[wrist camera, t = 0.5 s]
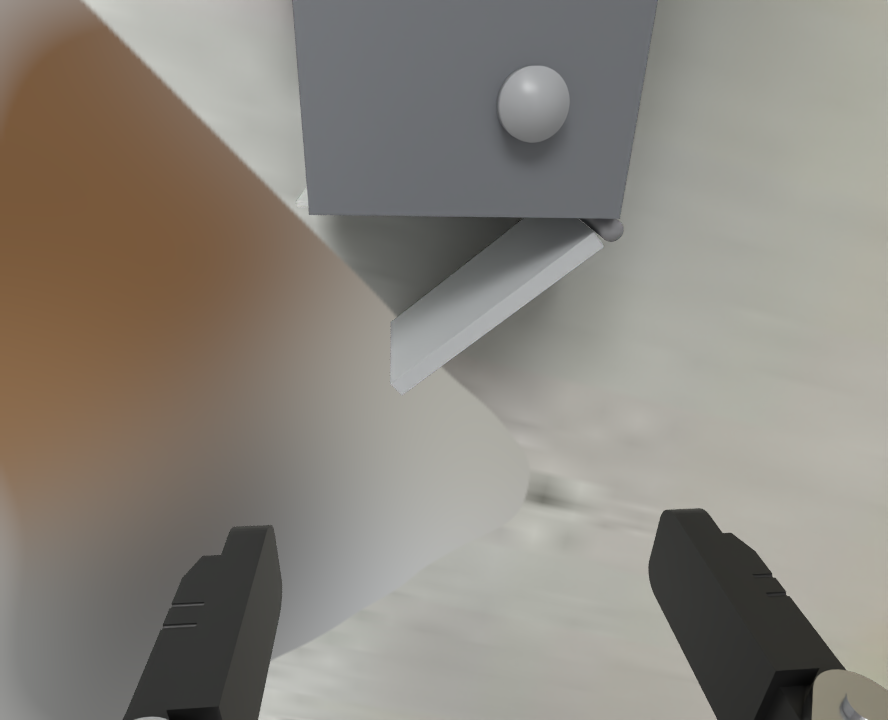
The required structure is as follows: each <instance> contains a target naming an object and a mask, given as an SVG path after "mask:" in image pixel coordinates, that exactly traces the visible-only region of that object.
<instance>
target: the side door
mask: <svg viewBox="0 0 888 720" xmlns="http://www.w3.org/2000/svg"><path fill="white" fill-rule="evenodd" d="M579 219H580V220H581V221H580V220H579ZM579 219H578V218H524V219H522V220H521V221H520V222H519V223H517V224H516V225H515V226H513V227H512V228H511V229H510V230H508V231H507V232H506V233H504V234H503V235H502V236H501V237H499V238H498V239H497V240H495V241H494V242H493V243H492V244H490V245H489V246H488V247H486V248H485V249H484V250H483V251H481V252H480V253H479V254H478V255H476V256H475V257H474V258H472V259H471V260H470V261H469V262H467V263H466V264H465V265H463V266H462V267H461V268H460V269H458V270H457V271H456V272H454V273H453V274H452V275H451V276H449V277H448V278H447V279H445V280H444V281H443V282H442V283H440V284H439V285H438V286H436V287H435V288H434V289H433V290H431V291H430V292H429V293H427V294H426V295H425V296H424V297H422V298H421V299H420V300H419V301H417V302H416V303H415V304H413V305H412V306H411V307H410V308H408V309H407V310H406V311H404V312H403V313H402V314H401V315H399V316H398V317H397V318H395V319H394V320H393V321H392V322H391V370H390V373H391V375H390V381H391V382H390V384H391V385H392V386H393V387H394V388H395V389H396V390H397V391H398V392H399V393H400V394H401V395H403V394H405V393H406V392H407V391H408V390H410V389H411V388H413V387H414V386H415V385H417V384H418V383H419V382H421V381H422V380H424V379H425V378H426V377H428V376H429V375H430V374H432V373H433V372H435V371H436V370H437V369H439V368H440V367H441V366H443V365H444V364H445V363H447V362H448V361H449V360H451V359H452V358H454V357H455V356H456V355H458V354H459V353H460V352H462V351H463V350H464V349H466V348H467V347H468V346H470V345H471V344H473V343H474V342H475V341H477V340H478V339H479V338H481V337H482V336H483V335H485V334H486V333H487V332H489V331H490V330H492V329H493V328H494V327H496V326H497V325H498V324H500V323H501V322H502V321H504V320H505V319H507V318H508V317H509V316H511V315H512V314H513V313H515V312H516V311H517V310H519V309H520V308H521V307H523V306H524V305H526V304H527V303H528V302H530V301H531V300H532V299H534V298H535V297H536V296H538V295H539V294H540V293H542V292H543V291H545V290H546V289H547V288H549V287H550V286H551V285H553V284H554V283H555V282H557V281H558V280H560V279H561V278H562V277H564V276H565V275H566V274H568V273H569V272H570V271H572V270H573V269H574V268H576V267H577V266H579V265H580V264H581V263H583V262H584V261H585V260H587V259H588V258H589V257H591V256H592V255H593V254H595V253H596V252H598V251H599V250H600V249H602V248H603V247H604V246H603V244H602V243H601V241H600V240H599V238H598V237H597V235H596V234H595V232H596V233H597V234H599V235H600V236H601V237H602V238H604V239H605V240H606V241H610V242H612V241H616V240H617V239H619V238H620V237H621V235H622V233H623V224H622V223H621V222H620V221H619V220H617V219H602V218H579ZM583 222H584V223H585V224H586V225H585V224H584V223H583ZM588 226H589V227H590V228H591V229H592V230H591V229H590V228H589V227H588ZM593 230H594V231H595V232H594V231H593Z"/></svg>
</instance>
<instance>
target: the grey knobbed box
mask: <svg viewBox="0 0 888 720" xmlns="http://www.w3.org/2000/svg"><path fill="white" fill-rule="evenodd" d="M657 2H658V0H292V3H293V15H294V28H295V41H296V54H297V66H298V79H299V92H300V105H301V117H302V130H303V143H304V156H305V168H306V181H307V187H306V189H305V190H304V191H303V193H302V194H301V196H300V197H299V198H298V200H297V201H296V207H309V215H367V216H446V217H524V218H602V219H620V214H621V208H622V202H623V196H624V191H625V185H626V179H627V173H628V168H629V162H630V156H631V151H632V145H633V139H634V133H635V128H636V122H637V116H638V110H639V105H640V99H641V93H642V88H643V82H644V76H645V70H646V65H647V59H648V53H649V47H650V42H651V36H652V30H653V24H654V19H655V13H656V7H657Z"/></svg>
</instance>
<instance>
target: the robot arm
mask: <svg viewBox="0 0 888 720" xmlns="http://www.w3.org/2000/svg"><path fill="white" fill-rule="evenodd" d="M649 579H650V584H651V587H652V590H653V593H654V595H655V597H656V599H657V601H658V603H659V605H660V607H661V609H662V611H663V613H664V615H665V617H666V619H667V621H668V623H669V625H670V627H671V629H672V631H673V633H674V635H675V637H676V639H677V641H678V643H679V644H680V646H681V648H682V650H683V652H684V654H685V656H686V658H687V660H688V662H689V664H690V666H691V668H692V670H693V672H694V674H695V676H696V678H697V680H698V682H699V684H700V686H701V688H702V690H703V692H704V694H705V696H706V698H707V700H708V702H709V704H710V706H711V708H712V710H713V712H714V714H715V716H716V718H717V720H888V690H886V689H885V688H883V687H882V686H881V685H879V684H877V683H876V682H874V681H873V680H871V679H869V678H867V677H865V676H862V675H860V674H857V673H854V672H850V671H847V670H846V669H845V668H844V667H843V665H842V664H841V663H840V662H839V660H838V659H837V658H836V656H835V655H834V654H833V652H832V651H831V650H830V649H829V647H828V646H827V645H826V643H825V642H824V641H823V639H822V638H821V637H820V635H819V634H818V633H817V632H816V630H815V629H814V628H813V626H812V625H811V624H810V622H809V621H808V620H807V618H806V617H805V616H804V615H803V613H802V612H801V611H800V609H799V608H798V607H797V605H796V604H795V603H794V601H793V600H792V599H791V598H790V596H787V595H786V591H785V590H784V588H783V587H782V586H781V584H780V583H779V582H778V581H777V579H776V578H773V577H772V573H771V571H770V570H769V569H768V567H767V566H766V565H765V563H764V562H763V561H762V560H761V558H760V557H759V556H758V554H757V553H756V552H755V551H754V550H753V549H751V548H750V547H749V546H748V545H746V544H745V543H744V542H742V541H741V540H740V539H738V538H737V537H736V536H735V535H733V534H732V533H722V532H721V530H720V529H719V528H718V526H717V525H716V523H715V522H714V521H713V519H712V518H711V517H710V515H709V514H708V513H707V512H706V511H705V510H703V509H700V508H698V509H675V510H665V511H664V512H663V513H662V515H661V517H660V521H659V525H658V529H657V533H656V537H655V541H654V545H653V549H652V552H651V556H650V560H649ZM281 601H282V579H281V572H280V566H279V559H278V553H277V546H276V540H275V533H274V529H273V527H272V525H267V526H245V527H244V526H242V527H233V528H232V529H231V530H230V532H229V535H228V537H227V540H226V543H225V546H224V549H223V551H222V554H221V555H214V556H202V557H201V558H200V559H199V561H198V562H197V563H196V564H195V565H194V566H193V567H192V568H191V569H190V570H189V571H188V573H187V574H186V575H185V576H184V577H183V578H182V580H181V583H180V585H179V588H178V590H177V592H176V595H175V597H174V599H173V602H172V608H171V609H169V611H168V614H167V616H166V619H165V621H164V623H163V629H162V630H161V631H160V633H159V636H158V638H157V640H156V643H155V645H154V647H153V650H152V652H151V654H150V657H149V659H148V662H147V664H146V666H145V669H144V671H143V674H142V676H141V679H140V681H139V683H138V686H137V688H136V690H135V693H134V695H133V698H132V700H131V703H130V705H129V707H128V710H127V712H126V714H125V716H124V718H123V720H258V717H259V712H260V707H261V702H262V697H263V692H264V688H265V683H266V678H267V673H268V668H269V664H270V659H271V654H272V649H273V644H274V639H275V635H276V629H277V625H278V620H279V616H280V610H281Z"/></svg>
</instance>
